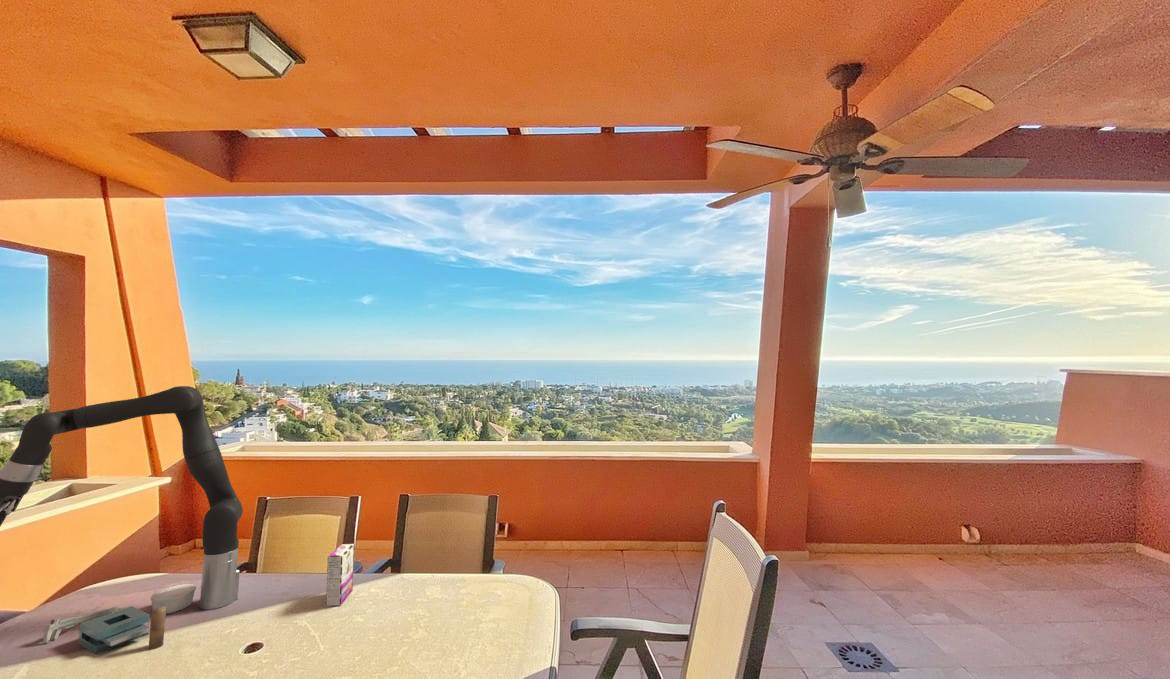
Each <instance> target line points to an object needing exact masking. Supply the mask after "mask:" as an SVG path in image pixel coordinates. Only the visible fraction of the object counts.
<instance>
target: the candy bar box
mask: <svg viewBox="0 0 1170 679" xmlns="http://www.w3.org/2000/svg"><path fill="white" fill-rule="evenodd" d="M354 547H355V544H354V543H343V544H339V546H337V547H336V549H334V550H333V551H332V552H331V553H330V554H329V555H328V556H327V566H326V567H327V568H326V569H327V570H326V571H327V572H326V575H327V576H326V596H325V597H326V601H325V603H326V604H325V607H327V608H328V607H339V606H342V604H343V603H344V602H345V601H346V599H347V598H348V597H349V595H351V593H352V591H353V590H354V589H353V586H354V585H353V584H354V583H353V582H354V580H353V579H354V557H355V555H354V553H355V552H354V551H355V548H354Z"/></svg>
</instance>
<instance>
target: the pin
mask: <svg viewBox="0 0 1170 679" xmlns="http://www.w3.org/2000/svg"><path fill="white" fill-rule="evenodd" d="M150 614H151V615H150V627H149V639H148V650H156V649H158V648H161V647H162V646H164V640H165V639H164V638H165V624H166V616H167V614H166V607H158V608H155V609H152V610H151V613H150Z"/></svg>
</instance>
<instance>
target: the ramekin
mask: <svg viewBox="0 0 1170 679" xmlns="http://www.w3.org/2000/svg"><path fill="white" fill-rule="evenodd" d="M196 590H197V586H196V585H195V584H192V583H191V584H190V583H189V584H188V583H187V584H186V583H185V584H178V585H173V586H170V587H166V588H164V589H161V590H158V591H157V592H154V593H153V594H151V596H150V601H151V607H152V610H153V609H155V608H158V607H166V615H167V614H171V613H172V614H173V613H176V611H177V612H180V611H181V610H184V609H186V608H188V607H189V606H190V605H191V604H192V602H193V600H194V596H195V593H196ZM187 606H188V607H187ZM179 610H180V611H179Z"/></svg>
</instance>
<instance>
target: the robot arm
mask: <svg viewBox="0 0 1170 679" xmlns="http://www.w3.org/2000/svg"><path fill="white" fill-rule="evenodd" d="M167 414H168V415H169V414H174V415H175V417H176V418H177V421H178V423H179V425H180V429H181V434H182V435H181V436H182V438H181V439H182V441H181V442H182V453H183V454H182V455H183V457H184V461H185V463H186V466H187V469H188V471H189V472H190V475H191V476H192V477H193V479H194V480H195V481H196V482H197V483H198V484H199V486H200V487H201V488H202V490H203V491H204V493H205V495H206V498H207V502H208V506H209V509H208V511H207V512H206V513H205V515H204V518H203V524H202V541H201V542H202V547H203V558H202V571H201V572H202V573H201V587H200V598H199V608H200V609H201V610H215V609H218V608H223V607H225V606H228V605H229V604H232V603H233V602H234V601H235V600H238V599H239V585H240V572H241V571H240V569H238V561H239V560H238V559H239V542H240V540H239V538H238V523H239V521H240V519H241V518H242V515H243V511H244V510H243V509H244V508H243V505H242V503H241V501H240V499H239V497H238V495H237V494H236V492H235V490H234V487H233V486H232V484H231V481H230V478H229V474H228V470H227V468H226V464H225V461H224V459H223V455H222V452H221V450H220V447H219V445H218V443H217V440H216V438H215V435H214V432H213V431H212V428H211V426H210V424H209V421H208V418H207V415H206V414H207V413H206V411H205V406H204V401H203V397H202V393H201V392H200V391H199V390H198V389H196V388H195V387H193V386H189V385H179V386H174V387H171V388H168V389H165V390H162V391H159V392H155V393H153V394H148V395H145V396H139V397H136V398H130V399H129V398H128V399H122V400H113V401H105V402H102V403H95V404H90V405H88V404H87V405H84V406H81V407H78V408H73V409H72V408H71V409H67V410H65V409H64V410H59V411H58V410H57V411H51V412H50V411H49V412H40V413H38V414H35V415H34V416H32V417H31V418H29V420H28V421H27V422H26V423H25V425H24V427H23V429H22V430H21V431H22V432H21V435H20V436H19V441H18V445H17V447H16V448H15V450H14V451H13V453H12V454H11V456H10V458H9V460H7V461H6V462H5V463H4V465H3V466H2V468H1V469H0V527H1V526H2V525H3V523H4V521H5V519H6V518H7V516H9V515H10V514H11V513H13V512H15V511H16V509H17V508H18V506H19V505H20V503H21V501H22V500H23V498H24V496H25V495H27V494H28V493H29V490H30V489H31V488H32V486H33V484H34V483H35V481H36V479H37V477H38V476H39V474H40V472H41V470H42V469H43V466H44V464H45V462H46V460H47V459H48V458H49V456H50V454H51V453H52V450H53V447H52V445H51V442H52V439H53V437H54V436H55V435H60V434H64V433H69V432H73V431H77V430H78V431H79V430H81V429H90V428H95V427H101V426H106V425H110V424H115V423H120V422H124V421H128V420H132V419H136V418H141V417H145V416H146V417H147V416H154V415H167Z"/></svg>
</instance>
